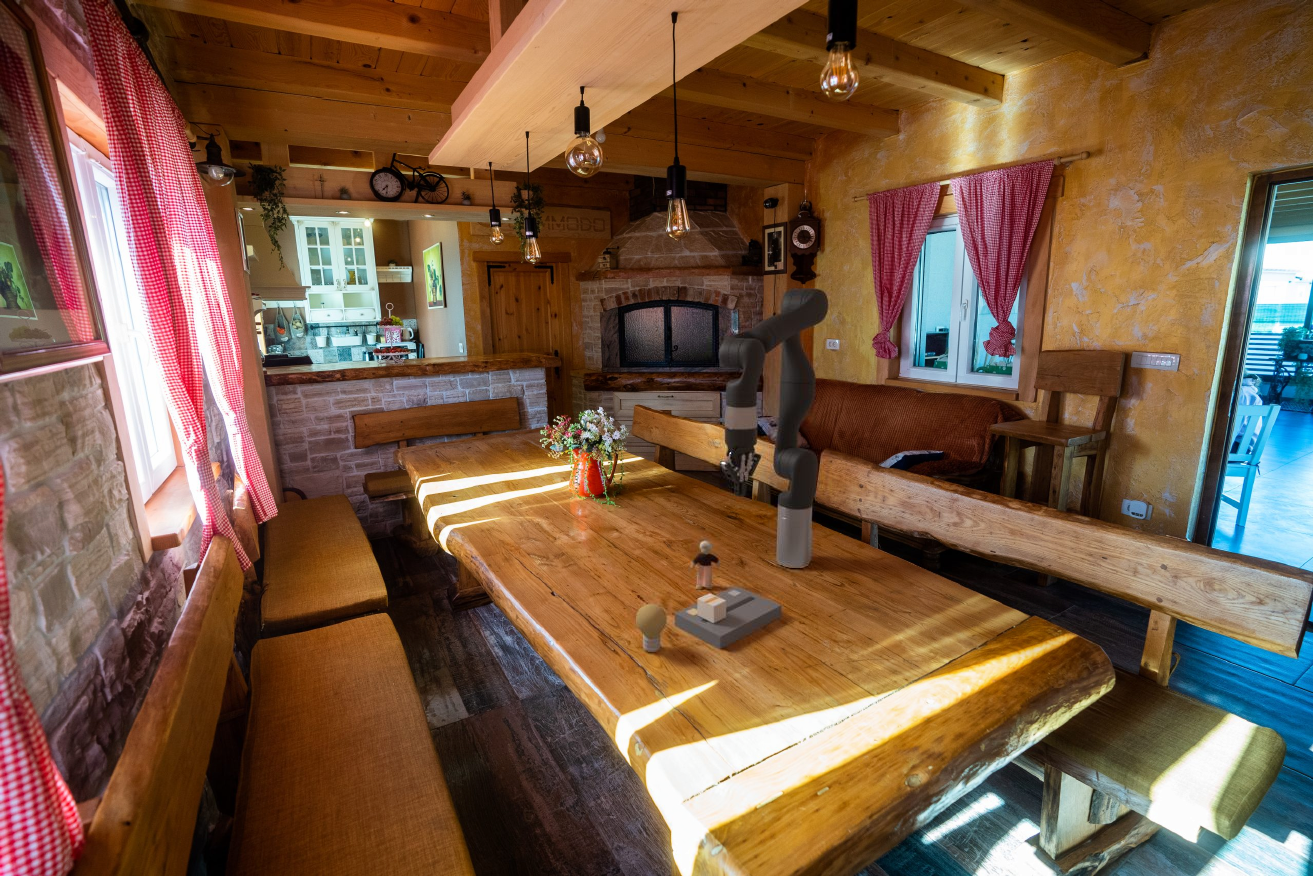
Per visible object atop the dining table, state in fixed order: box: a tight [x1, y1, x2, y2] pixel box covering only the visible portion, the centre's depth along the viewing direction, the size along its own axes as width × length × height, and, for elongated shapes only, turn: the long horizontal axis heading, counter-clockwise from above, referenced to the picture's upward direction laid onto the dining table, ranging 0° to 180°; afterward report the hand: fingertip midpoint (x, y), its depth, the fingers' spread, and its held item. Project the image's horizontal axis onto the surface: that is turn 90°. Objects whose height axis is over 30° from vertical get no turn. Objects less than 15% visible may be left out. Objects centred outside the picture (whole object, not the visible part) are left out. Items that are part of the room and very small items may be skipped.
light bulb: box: [635, 603, 668, 653], centre depth 133 cm, size 6×6×10 cm
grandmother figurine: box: [690, 540, 722, 590], centre depth 161 cm, size 8×4×13 cm, turn 105°
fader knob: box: [696, 592, 726, 623], centre depth 140 cm, size 4×5×4 cm
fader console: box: [674, 585, 783, 650], centre depth 145 cm, size 21×14×3 cm, turn 132°
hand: (740, 495), depth 150 cm, fingers closed
